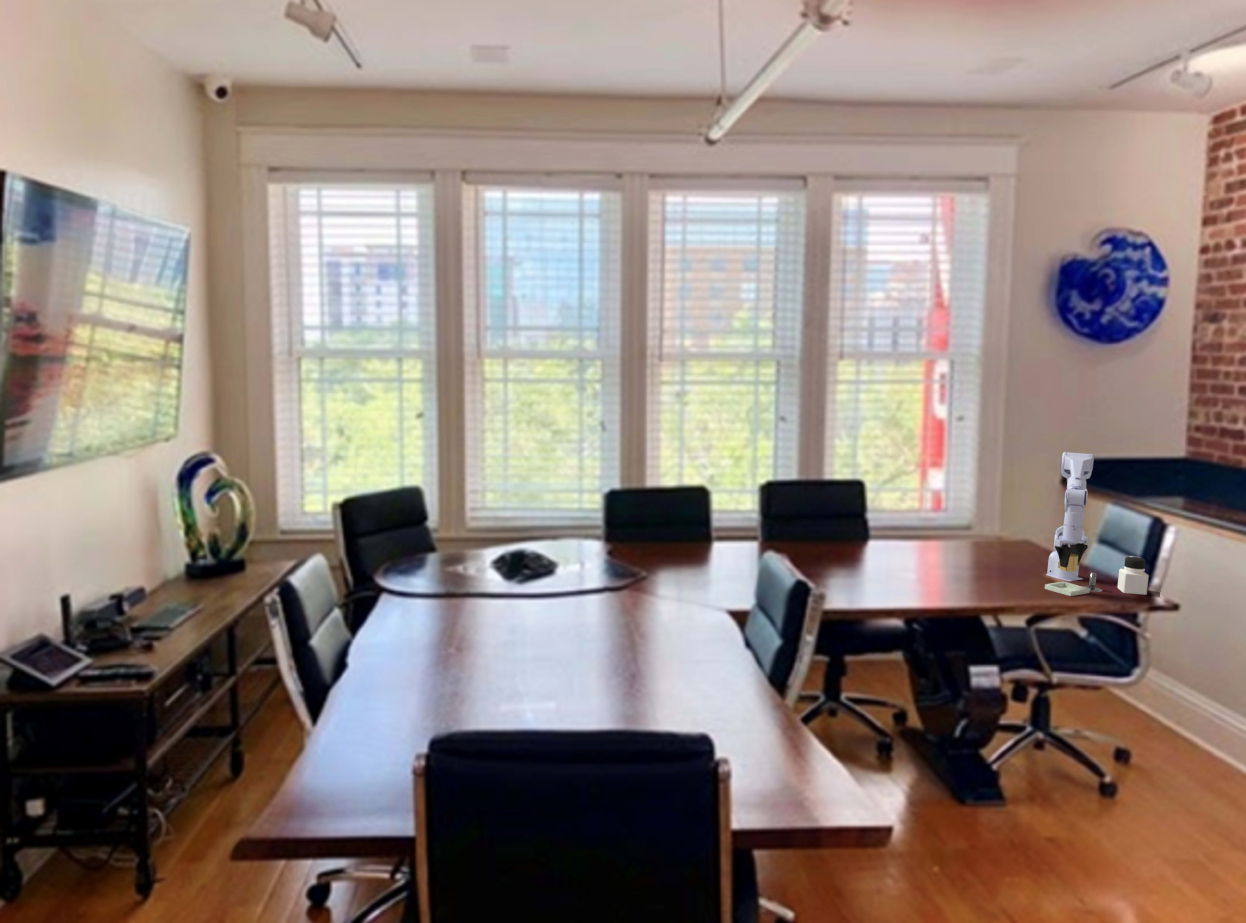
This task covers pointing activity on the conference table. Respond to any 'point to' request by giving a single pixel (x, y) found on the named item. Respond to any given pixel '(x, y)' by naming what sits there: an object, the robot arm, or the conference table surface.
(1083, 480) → the robot arm
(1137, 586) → the medicine bottle
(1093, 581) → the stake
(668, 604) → the conference table surface
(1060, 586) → the tray
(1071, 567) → the collar
